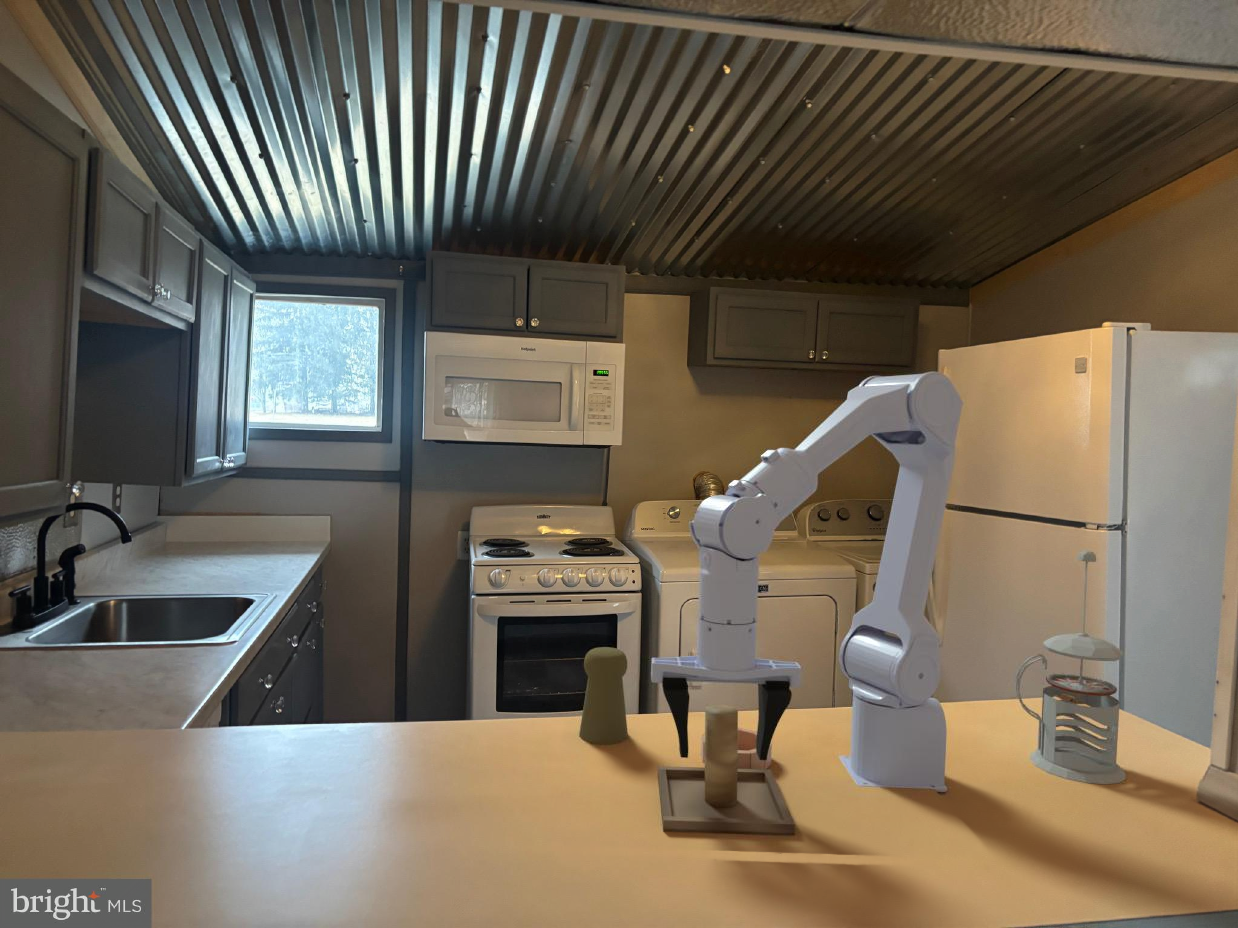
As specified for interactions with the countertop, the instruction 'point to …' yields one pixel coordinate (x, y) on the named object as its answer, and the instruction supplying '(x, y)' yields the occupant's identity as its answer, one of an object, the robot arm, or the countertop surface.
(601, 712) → the olive green pawn
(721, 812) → the walnut tray
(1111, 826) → the countertop surface
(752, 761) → the pink round piece
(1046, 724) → the french press
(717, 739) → the dowel pin
